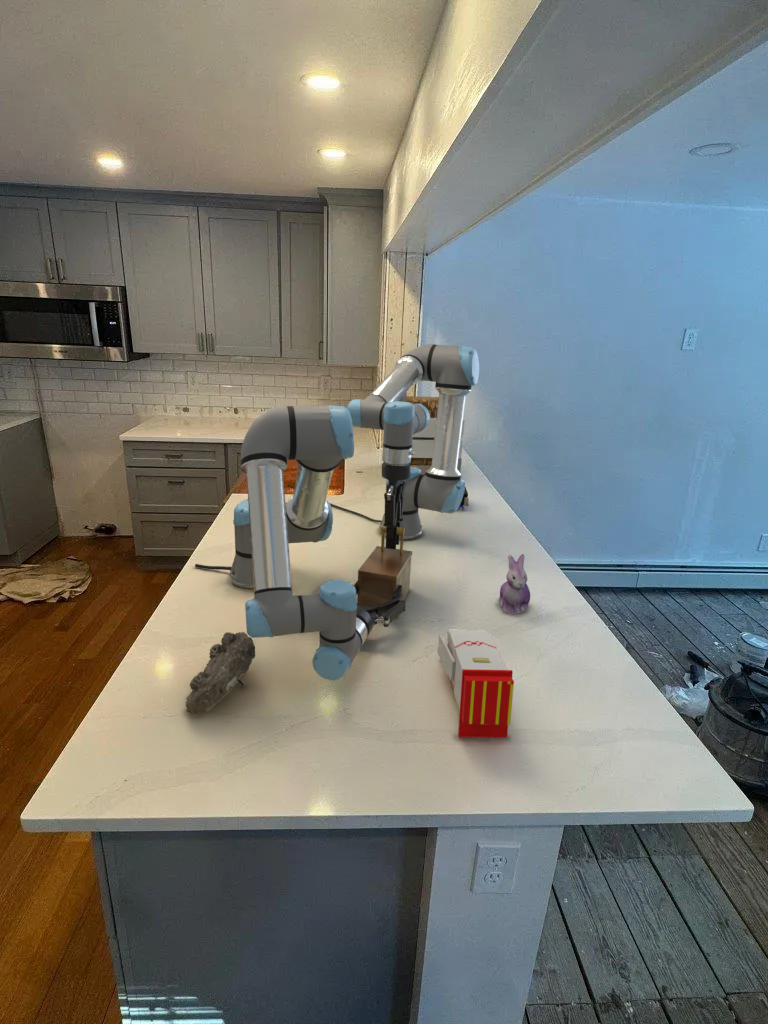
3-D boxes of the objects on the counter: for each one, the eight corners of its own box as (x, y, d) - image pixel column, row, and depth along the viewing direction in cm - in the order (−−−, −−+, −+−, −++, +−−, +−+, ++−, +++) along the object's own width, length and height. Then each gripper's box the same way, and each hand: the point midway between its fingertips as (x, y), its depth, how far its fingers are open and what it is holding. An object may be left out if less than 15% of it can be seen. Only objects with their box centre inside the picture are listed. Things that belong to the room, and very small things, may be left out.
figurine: (512, 619, 147) (519, 566, 142) (488, 601, 156) (494, 551, 151) (540, 611, 151) (548, 560, 146) (515, 594, 160) (522, 546, 155)
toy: (488, 613, 130) (523, 677, 101) (484, 667, 133) (517, 744, 104) (435, 612, 130) (455, 676, 101) (432, 666, 133) (451, 743, 103)
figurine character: (468, 514, 225) (463, 498, 239) (470, 497, 222) (465, 482, 235) (451, 514, 225) (447, 498, 238) (453, 497, 222) (449, 481, 235)
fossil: (206, 634, 127) (255, 603, 122) (236, 663, 130) (284, 634, 125) (163, 707, 107) (218, 674, 102) (199, 739, 110) (254, 708, 105)
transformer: (382, 463, 289) (386, 382, 275) (445, 464, 293) (451, 384, 279) (390, 482, 257) (394, 392, 243) (460, 483, 261) (468, 394, 247)
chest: (374, 584, 163) (376, 550, 159) (409, 590, 160) (411, 556, 157) (356, 610, 148) (357, 574, 145) (394, 617, 146) (396, 581, 142)
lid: (376, 549, 160) (378, 520, 157) (412, 555, 158) (414, 525, 155) (357, 574, 145) (358, 542, 142) (396, 581, 142) (398, 548, 139)
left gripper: (305, 634, 132) (338, 592, 152) (400, 653, 126) (421, 606, 146) (305, 605, 129) (339, 566, 149) (402, 623, 124) (423, 580, 144)
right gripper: (403, 472, 139) (398, 559, 147) (417, 457, 153) (412, 537, 161) (374, 468, 141) (370, 555, 149) (390, 454, 155) (386, 534, 163)
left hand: (380, 586), depth 148 cm, fingers closed on chest, 10 cm apart
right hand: (392, 545), depth 155 cm, fingers open, 3 cm apart
